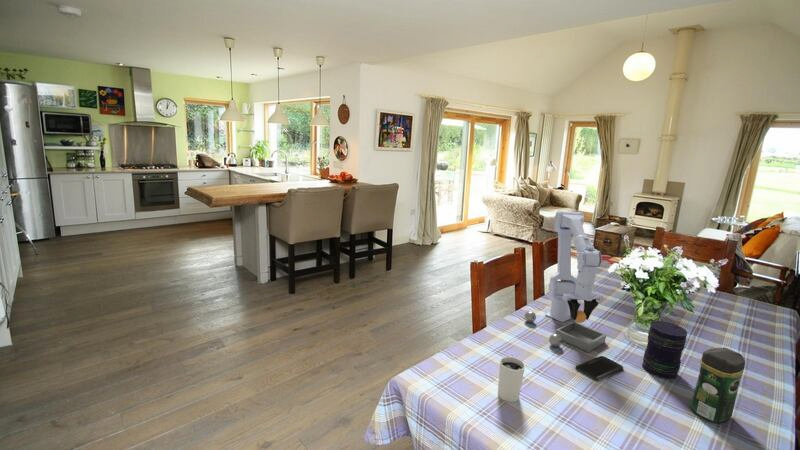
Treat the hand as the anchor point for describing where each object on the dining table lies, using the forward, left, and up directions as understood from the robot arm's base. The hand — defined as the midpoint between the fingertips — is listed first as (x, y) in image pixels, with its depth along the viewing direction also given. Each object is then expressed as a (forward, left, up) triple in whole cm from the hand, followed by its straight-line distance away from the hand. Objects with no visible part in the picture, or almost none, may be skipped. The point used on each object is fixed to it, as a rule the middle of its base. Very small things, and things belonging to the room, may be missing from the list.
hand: (579, 318), depth 141 cm
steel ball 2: (+11, -2, -6) cm, 13 cm away
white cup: (+48, +5, -9) cm, 49 cm away
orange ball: (0, 0, +1) cm, 1 cm away
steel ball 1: (+2, -18, -6) cm, 19 cm away
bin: (-1, +1, -8) cm, 8 cm away
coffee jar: (+8, +42, -9) cm, 44 cm away
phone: (+12, +14, -9) cm, 21 cm away
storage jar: (-4, +26, -9) cm, 28 cm away
